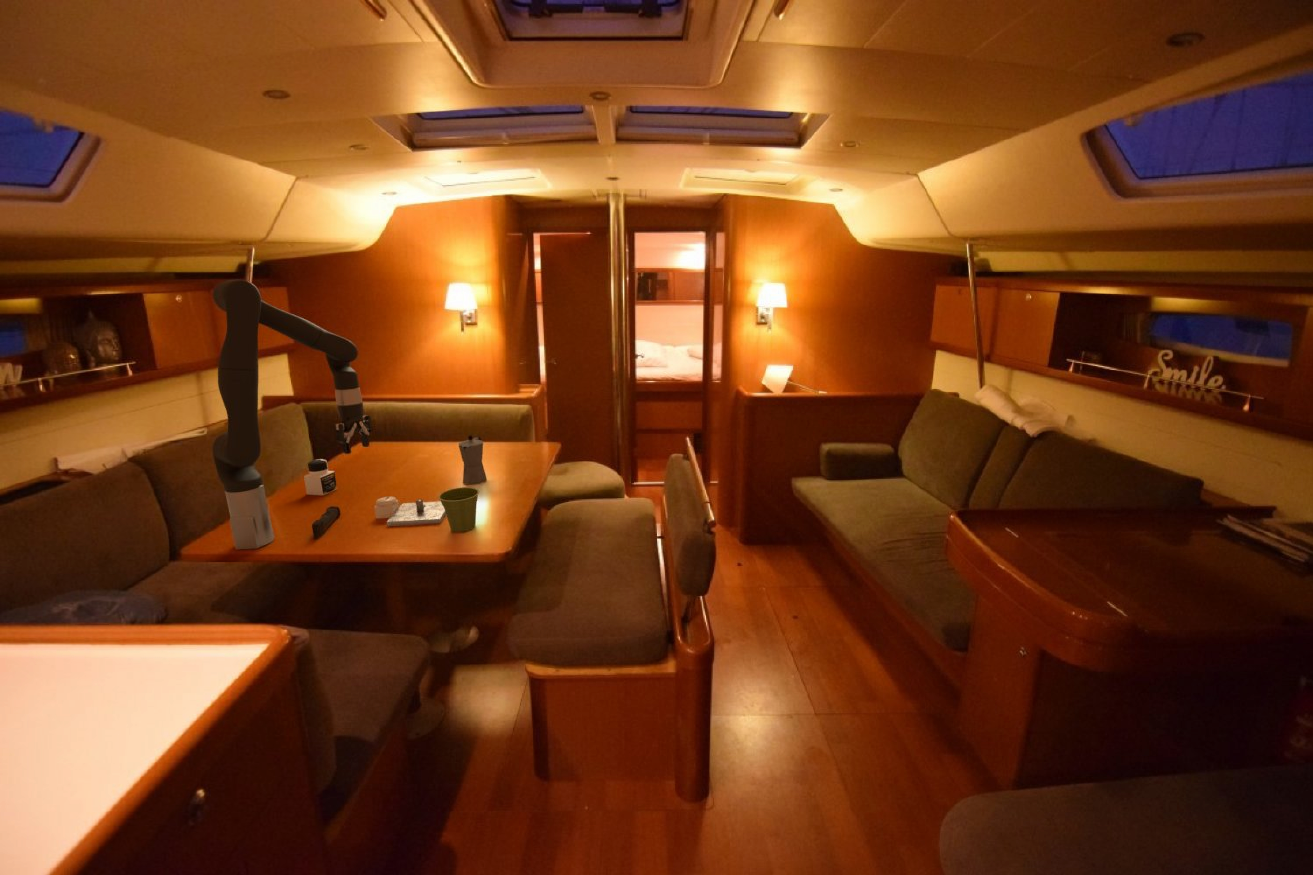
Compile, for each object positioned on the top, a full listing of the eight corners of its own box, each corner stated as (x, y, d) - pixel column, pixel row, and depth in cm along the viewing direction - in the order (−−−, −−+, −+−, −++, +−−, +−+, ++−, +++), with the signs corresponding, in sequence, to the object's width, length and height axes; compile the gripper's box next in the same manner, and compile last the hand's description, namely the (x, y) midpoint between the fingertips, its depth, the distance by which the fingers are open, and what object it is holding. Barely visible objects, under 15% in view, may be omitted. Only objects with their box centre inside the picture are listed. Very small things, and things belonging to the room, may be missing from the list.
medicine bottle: (323, 495, 212) (318, 463, 209) (306, 494, 214) (300, 463, 210) (337, 489, 219) (332, 458, 216) (321, 488, 220) (315, 457, 217)
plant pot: (448, 521, 186) (444, 487, 184) (486, 519, 187) (483, 486, 184) (437, 537, 175) (433, 501, 172) (478, 535, 176) (474, 499, 173)
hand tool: (328, 517, 193) (326, 504, 191) (341, 516, 193) (339, 503, 192) (305, 541, 175) (302, 527, 173) (319, 540, 175) (317, 526, 174)
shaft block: (440, 523, 185) (438, 508, 184) (387, 526, 184) (385, 511, 182) (452, 504, 201) (450, 491, 199) (403, 507, 199) (401, 493, 198)
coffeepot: (480, 486, 218) (475, 439, 214) (455, 486, 219) (450, 439, 214) (495, 473, 233) (490, 429, 228) (472, 473, 234) (467, 429, 229)
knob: (394, 517, 191) (392, 501, 189) (375, 518, 190) (373, 502, 189) (400, 510, 196) (397, 495, 195) (382, 511, 196) (379, 496, 194)
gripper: (343, 406, 184) (351, 456, 188) (374, 398, 197) (381, 444, 201) (323, 406, 186) (331, 455, 190) (355, 397, 199) (362, 443, 203)
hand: (357, 450), depth 196 cm, fingers open, 8 cm apart
